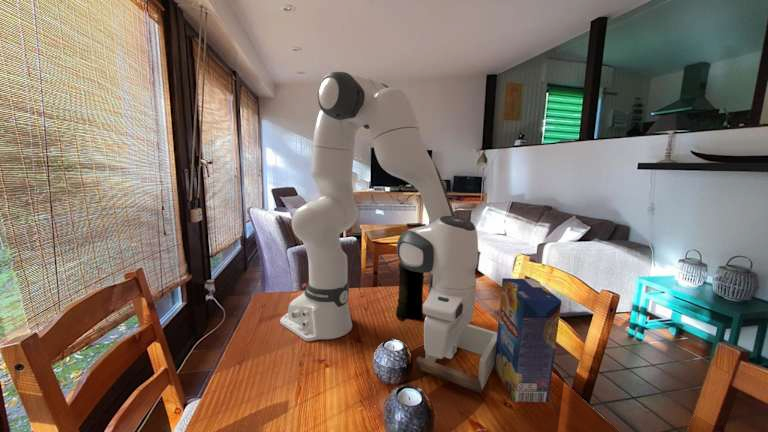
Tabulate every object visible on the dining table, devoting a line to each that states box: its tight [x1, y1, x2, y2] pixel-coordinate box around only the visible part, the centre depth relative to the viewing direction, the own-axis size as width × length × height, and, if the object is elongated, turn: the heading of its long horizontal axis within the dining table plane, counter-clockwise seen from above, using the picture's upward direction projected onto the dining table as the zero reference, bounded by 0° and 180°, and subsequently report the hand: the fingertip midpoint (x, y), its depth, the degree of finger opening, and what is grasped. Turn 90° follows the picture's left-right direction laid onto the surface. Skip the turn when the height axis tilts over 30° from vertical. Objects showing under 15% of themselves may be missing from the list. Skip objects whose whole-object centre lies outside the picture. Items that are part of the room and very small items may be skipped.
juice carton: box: [493, 277, 562, 403], centre depth 74 cm, size 12×8×24 cm, turn 1°
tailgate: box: [416, 356, 483, 394], centre depth 74 cm, size 14×1×7 cm
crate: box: [424, 323, 497, 390], centre depth 82 cm, size 14×14×8 cm
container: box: [395, 261, 425, 322], centre depth 107 cm, size 9×9×18 cm
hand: (450, 354), depth 72 cm, fingers closed
